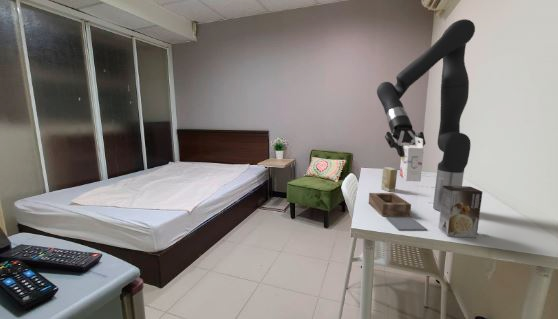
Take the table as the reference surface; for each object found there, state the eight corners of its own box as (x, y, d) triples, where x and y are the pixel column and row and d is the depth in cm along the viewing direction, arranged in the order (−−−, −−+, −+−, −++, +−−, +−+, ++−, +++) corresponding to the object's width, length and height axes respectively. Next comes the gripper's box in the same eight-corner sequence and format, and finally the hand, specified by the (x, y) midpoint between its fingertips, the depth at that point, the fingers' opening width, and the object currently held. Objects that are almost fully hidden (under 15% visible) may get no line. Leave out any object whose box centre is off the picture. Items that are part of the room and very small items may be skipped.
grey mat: (411, 218, 97) (411, 217, 97) (426, 230, 87) (427, 229, 87) (386, 218, 97) (386, 217, 97) (398, 230, 87) (398, 229, 87)
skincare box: (380, 188, 138) (382, 167, 136) (387, 188, 139) (389, 166, 137) (389, 192, 132) (391, 169, 130) (395, 191, 133) (397, 169, 131)
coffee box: (465, 229, 88) (471, 186, 85) (477, 238, 81) (484, 191, 79) (437, 228, 89) (442, 185, 86) (446, 236, 83) (452, 190, 80)
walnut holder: (392, 203, 114) (393, 193, 113) (409, 216, 99) (411, 204, 99) (368, 203, 114) (369, 193, 113) (382, 216, 99) (383, 204, 98)
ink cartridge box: (398, 175, 94) (401, 136, 91) (413, 175, 93) (416, 136, 90) (405, 181, 86) (408, 138, 83) (421, 181, 85) (425, 138, 82)
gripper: (383, 114, 95) (395, 149, 85) (421, 114, 95) (437, 149, 85) (377, 127, 101) (387, 161, 91) (412, 127, 101) (426, 162, 91)
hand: (411, 155), depth 88 cm, fingers closed on ink cartridge box, 5 cm apart
